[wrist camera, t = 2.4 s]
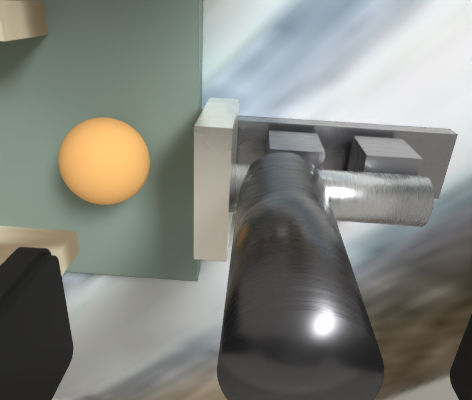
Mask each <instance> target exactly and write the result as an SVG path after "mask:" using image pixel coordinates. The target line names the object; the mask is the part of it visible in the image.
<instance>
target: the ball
mask: <svg viewBox="0 0 472 400" xmlns="http://www.w3.org/2000/svg"><path fill="white" fill-rule="evenodd" d="M58 161H59V169H60V173H61V176H62V178H63V180H64V182H65V183H66V185H67V186H68V187H69V189H70V190H71V191H72V192H73V193H74V194H76V195H77V196H78V197H80V198H82V199H84V200H86V201H88V202H91V203H94V204H100V205H111V204H117V203H120V202H123V201H125V200H127V199H129V198H131V197H132V196H133V195H135V194H136V193H137V192H138V191H139V190H140V189H141V187H142V186H143V185H144V183H145V181H146V179H147V176H148V173H149V168H150V156H149V152H148V148H147V146H146V143H145V142H144V140H143V138H142V137H141V135H140V134H139V133H138V132H137V131H136V130H135V129H134V128H133V127H131V126H130V125H128V124H126V123H125V122H123V121H120V120H117V119H113V118H107V117H99V118H92V119H89V120H86V121H84V122H82V123H80V124H78V125H76V126H75V127H74V128H73V129H72V130H71V131H69V133H68V134H67V135H66V137H65V138H64V140H63V142H62V144H61V147H60V151H59V157H58Z"/></svg>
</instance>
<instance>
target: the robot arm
mask: <svg viewBox="0 0 472 400" xmlns="http://www.w3.org/2000/svg"><path fill="white" fill-rule="evenodd" d="M72 355H73V342H72V336H71V330H70V324H69V318H68V312H67V306H66V300H65V294H64V288H63V282H62V276H61V270H60V264H59V260H58V258H57V256H55V255H51V252H50V251H49V249H47V248H33V247H19V248H17V249H16V250H15V251H14V252H13V253H12V254H11V255H10V256H9V257H8V258H7V259H6V260H5V261H4V262H3V263H2V264H1V265H0V400H52V398H53V396H54V394H55V392H56V390H57V388H58V386H59V384H60V382H61V380H62V378H63V376H64V374H65V372H66V370H67V368H68V366H69V364H70V362H71V359H72ZM450 381H451V384H452V387H453V389H454V391H455V393H456V395H457V397H458V398H459V400H472V315H471V318H470V320H469V323H468V325H467V328H466V331H465V333H464V336H463V338H462V341H461V344H460V346H459V349H458V351H457V354H456V357H455V359H454V362H453V364H452V367H451V370H450Z"/></svg>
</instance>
